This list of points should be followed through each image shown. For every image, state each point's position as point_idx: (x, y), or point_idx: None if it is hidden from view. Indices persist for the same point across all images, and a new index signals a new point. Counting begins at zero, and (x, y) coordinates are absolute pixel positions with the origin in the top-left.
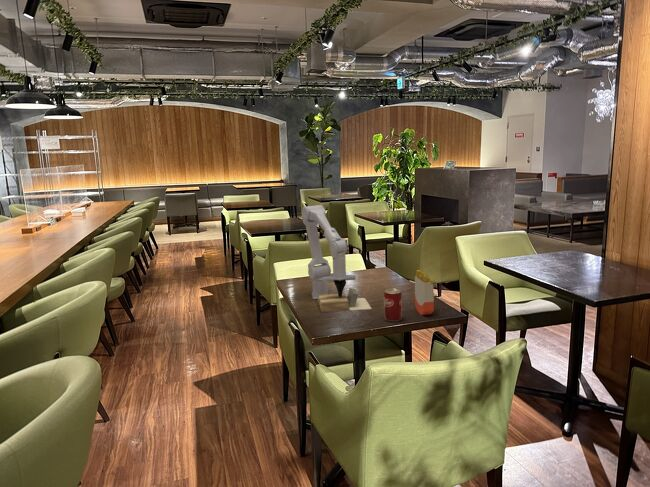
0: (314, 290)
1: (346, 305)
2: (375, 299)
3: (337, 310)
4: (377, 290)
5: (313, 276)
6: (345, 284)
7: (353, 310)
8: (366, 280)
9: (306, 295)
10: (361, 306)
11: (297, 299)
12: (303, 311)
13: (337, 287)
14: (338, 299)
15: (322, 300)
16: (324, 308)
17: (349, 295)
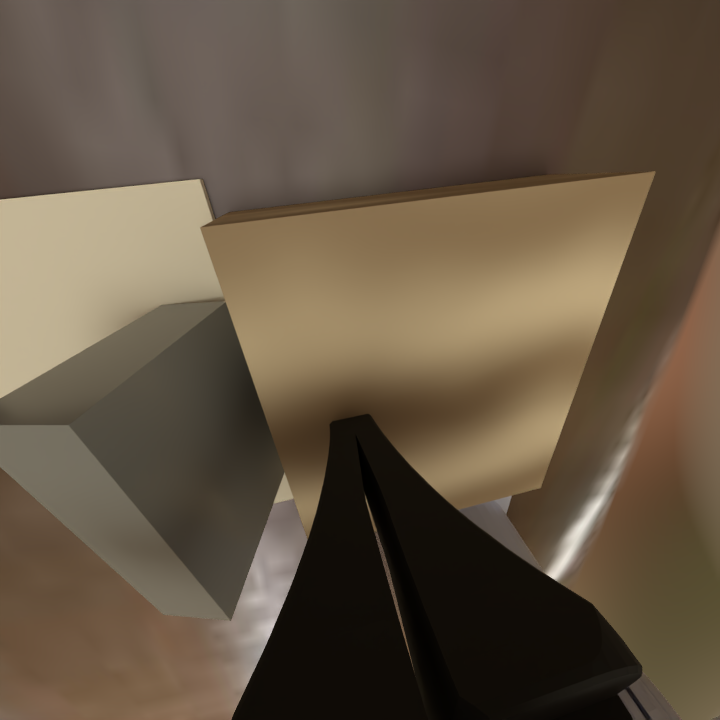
0: (527, 548)
1: (251, 213)
2: (5, 531)
3: (375, 196)
4: (79, 651)
5: (671, 708)
6: (248, 690)
7: (154, 184)
8: (201, 707)
9: (521, 524)
10: (67, 321)
11: (588, 470)
12: (681, 226)
13: (463, 533)
14: (378, 347)
15: (581, 312)
16: (548, 177)
17: (228, 475)
